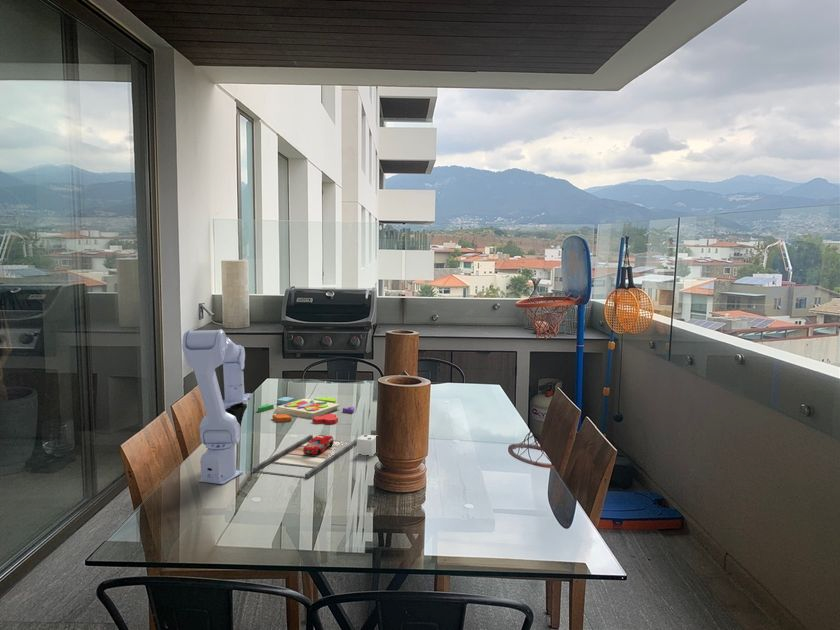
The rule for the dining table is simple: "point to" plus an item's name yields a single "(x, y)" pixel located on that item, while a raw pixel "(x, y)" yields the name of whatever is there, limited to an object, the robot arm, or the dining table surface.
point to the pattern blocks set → (306, 409)
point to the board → (304, 458)
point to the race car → (318, 444)
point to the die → (366, 445)
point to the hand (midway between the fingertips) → (236, 428)
